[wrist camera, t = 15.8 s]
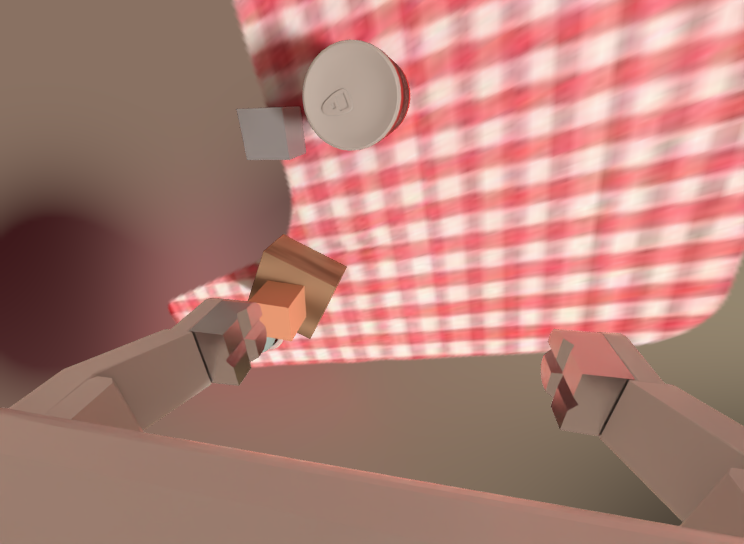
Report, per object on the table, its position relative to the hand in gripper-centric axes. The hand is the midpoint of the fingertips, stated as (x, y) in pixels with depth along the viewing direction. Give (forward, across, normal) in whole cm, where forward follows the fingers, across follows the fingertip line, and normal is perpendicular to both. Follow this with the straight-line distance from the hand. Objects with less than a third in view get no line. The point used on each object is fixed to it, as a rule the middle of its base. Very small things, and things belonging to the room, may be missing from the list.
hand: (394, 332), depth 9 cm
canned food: (+31, +6, -6) cm, 32 cm away
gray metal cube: (+31, +17, -3) cm, 36 cm away
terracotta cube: (+26, +17, +17) cm, 35 cm away
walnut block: (+32, +17, +17) cm, 40 cm away
